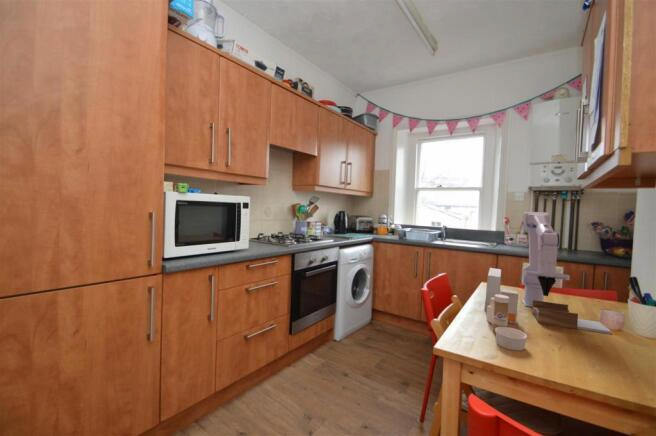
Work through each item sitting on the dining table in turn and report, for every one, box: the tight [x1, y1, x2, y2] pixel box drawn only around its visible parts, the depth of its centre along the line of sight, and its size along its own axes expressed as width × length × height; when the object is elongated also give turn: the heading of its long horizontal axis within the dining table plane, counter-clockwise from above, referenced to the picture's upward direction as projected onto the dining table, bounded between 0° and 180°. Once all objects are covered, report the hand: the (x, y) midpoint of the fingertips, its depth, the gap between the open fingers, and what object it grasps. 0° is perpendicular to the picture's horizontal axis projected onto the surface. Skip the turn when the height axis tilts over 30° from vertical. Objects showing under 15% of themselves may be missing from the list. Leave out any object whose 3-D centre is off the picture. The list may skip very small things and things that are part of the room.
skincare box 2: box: [500, 288, 519, 325], centre depth 116 cm, size 6×4×12 cm
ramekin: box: [495, 326, 528, 352], centre depth 95 cm, size 9×9×4 cm
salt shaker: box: [486, 298, 495, 325], centre depth 113 cm, size 4×4×10 cm
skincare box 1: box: [483, 267, 502, 312], centre depth 134 cm, size 21×6×16 cm, turn 148°
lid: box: [576, 318, 612, 335], centre depth 113 cm, size 10×10×2 cm
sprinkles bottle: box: [492, 294, 509, 334], centre depth 104 cm, size 5×5×13 cm
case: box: [531, 300, 579, 330], centre depth 117 cm, size 12×12×6 cm
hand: (545, 295), depth 118 cm, fingers closed
